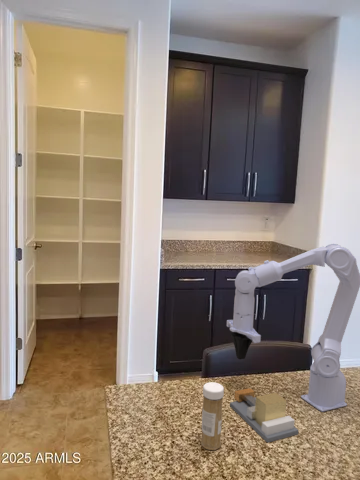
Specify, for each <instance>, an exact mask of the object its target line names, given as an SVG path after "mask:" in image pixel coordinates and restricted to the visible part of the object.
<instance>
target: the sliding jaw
mask: <svg viewBox="0 0 360 480" xmlns="http://www.w3.org/2000/svg"><path fill="white" fill-rule="evenodd" d="M254 397H255V391H254V389H252V388H244V389H239V390H235V391H234V399H235V401H238V402H241V401H246V402H247V403H248V404H249V405H251V406H252V407H248V408H247V416H248V417H249V418H250V419H251V420H252V419H255V404H256V399H255V398H254Z"/></svg>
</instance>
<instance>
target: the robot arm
mask: <svg viewBox="0 0 360 480" xmlns="http://www.w3.org/2000/svg"><path fill="white" fill-rule="evenodd" d="M357 263H358V262H357V259H356V257H355V256H354V254H353V253H352V252H351V251H350V250H349V249H348V248H346V247H344V246H341V245H339V244H337V243H331V244H327V245H326V246H323V245H322V246H319V247H316V248H312V249H310V250H307V251H306V252H302V253H300V254H297V255H296V256H293V257H291V258H288V259H286V260H283V261H281V262H277V261H275V260H270V261H269V259H267V260H264V261H263V263H262V264H259V265H257V266H253V267H252V266H250V267H248V268H247V269H248V270H246V269H245V270H241V271H239V272H238V274H237V275H236V277H235V279H234V286H235V292H234V293H235V295H234V302H233V303H234V304H233V319H227V320H226V327H227V328H229V331H230V332H231V333H230V334H229V335H230V338H231V339H232V341H233V342H232V343H233V345H234V350H235V355H236V358H237V359H238V360H244V359H246V356H247V355H248V354H247V353H248V350H249V348H250V346H251V344H252V343H253V344H256V343H261V339H262V338H261V337H262V335H261V334H259V333H258V332H257V331H256V329H255V328H254V314H255V313H254V312H255V303H256V302H255V289H256V288H261V287H264V286H267V285H270V284H272V283H275V282H279V281H280V280H282V278H283V276H284V274H287V273H289V272H292V271H293V272H294V271H297V270H299V269H302V268H305V267H309V266H312V265H313V266H319V267H323V268H324V267H325V265H327V267H329V268H330V269H331V270H332V271H333V273H334V274H335V276H336V277H337V279H338V280H339V283H338V286H337V289H336V292H335V295H334V298H333V302H332V303H331V307H330V309H329V312H328V316H327V318H326V319H327V320H326V321H325V325H324V328H323V331H322V334H321V335H320V336H319V337H318V340H317V342H316V343H315V344H314V345H313V346H312V348H311V351H310V354H311V357H312V359H313V363H312V364H311V365H310V369H309V381H308V393H307V394H302V395H300V397H301V399H302V400H304V401H306V403H308V404H310V405H311V406H312V407H314V408H315V409H317V410H318V411H319V412H327V411H331V410H334V409H339V408H343V407H346V406H348V403H347V402H345V401H346V389H347V380H346V377H345V376H346V375H345V374H344V373H343V372H342V370H341V363H340V359H341V358H340V357H341V355H342V341H343V338H344V335H345V333H346V329H347V326H348V323H349V321H350V318H351V314H352V311H353V308H354V306H355V303H356V300H357V297H358V293H359V291H360V271H359V268H358V264H357Z"/></svg>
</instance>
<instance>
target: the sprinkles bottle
mask: <svg viewBox="0 0 360 480" xmlns="http://www.w3.org/2000/svg"><path fill="white" fill-rule="evenodd" d="M202 387H203V388H202V396H203V398H202V413H201V438H200V445H201V446H202V447H203V448H204V449H206V450H209V451H216V450H218V449H219V448H220V447H221V445H222V441H221V440H222V439H221V438H222V435H221V434H222V425H223V424H222V423H223V422H222V421H223V417H222V416H223V398H224V395H225V394H224V393H225V387H224V386H223V384H220V383H218V382H215V381H213V382H211V381H210V382H209V381H208V382H205V384H203V386H202Z"/></svg>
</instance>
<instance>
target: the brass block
mask: <svg viewBox="0 0 360 480" xmlns="http://www.w3.org/2000/svg"><path fill="white" fill-rule="evenodd" d="M255 397H256V404H255V419H254V420H255V421H256V422H257V423H258V424H259V425H260V426H261V427H262V422H265V421H269V420H273V419H277V418H281V417H285V416H286V411H287V409H286V408H287V400H286V398H283V396H281V395H280V394H279V393H277V392H272V393H267V394H263V395H257V396H255Z"/></svg>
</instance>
